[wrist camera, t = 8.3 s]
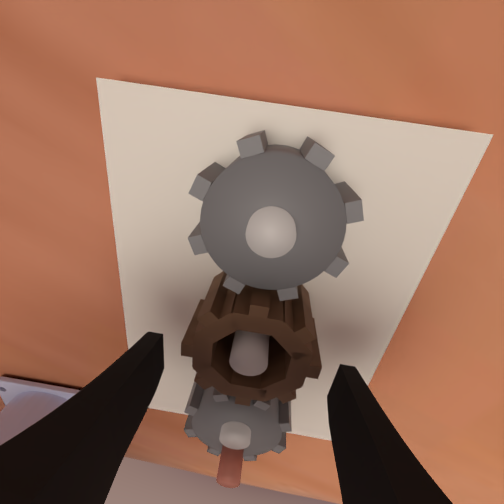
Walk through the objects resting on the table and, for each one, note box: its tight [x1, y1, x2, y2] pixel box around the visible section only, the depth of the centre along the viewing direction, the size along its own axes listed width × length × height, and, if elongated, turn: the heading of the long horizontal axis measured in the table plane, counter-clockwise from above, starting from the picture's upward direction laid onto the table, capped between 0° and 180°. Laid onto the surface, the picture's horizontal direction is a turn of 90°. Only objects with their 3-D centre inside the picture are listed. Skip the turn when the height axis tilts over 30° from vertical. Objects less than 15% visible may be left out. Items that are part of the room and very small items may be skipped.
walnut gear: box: [181, 271, 322, 406], centre depth 12 cm, size 6×6×3 cm
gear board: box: [96, 78, 493, 488], centre depth 13 cm, size 19×14×6 cm
